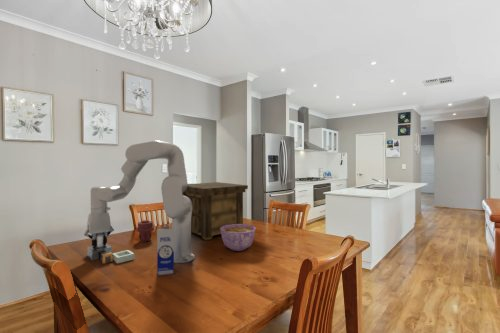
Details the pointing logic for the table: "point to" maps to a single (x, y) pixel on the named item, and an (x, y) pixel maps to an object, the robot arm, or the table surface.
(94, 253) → the socket block
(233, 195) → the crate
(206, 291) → the table surface
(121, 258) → the pale green tray
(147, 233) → the dark red pot
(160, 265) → the milk carton
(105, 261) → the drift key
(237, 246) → the bowl of food
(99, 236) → the grey peg
